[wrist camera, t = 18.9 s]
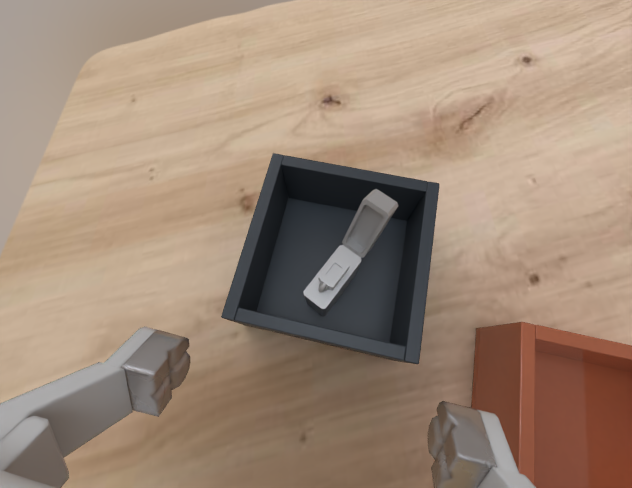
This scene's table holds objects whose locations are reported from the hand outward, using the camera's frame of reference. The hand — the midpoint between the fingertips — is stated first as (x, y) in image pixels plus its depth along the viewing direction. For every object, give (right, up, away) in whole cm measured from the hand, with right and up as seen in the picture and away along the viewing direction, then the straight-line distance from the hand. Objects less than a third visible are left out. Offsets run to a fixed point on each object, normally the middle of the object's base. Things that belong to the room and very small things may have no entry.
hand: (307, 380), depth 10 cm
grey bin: (+2, +2, +15) cm, 15 cm away
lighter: (+2, +2, +14) cm, 15 cm away
